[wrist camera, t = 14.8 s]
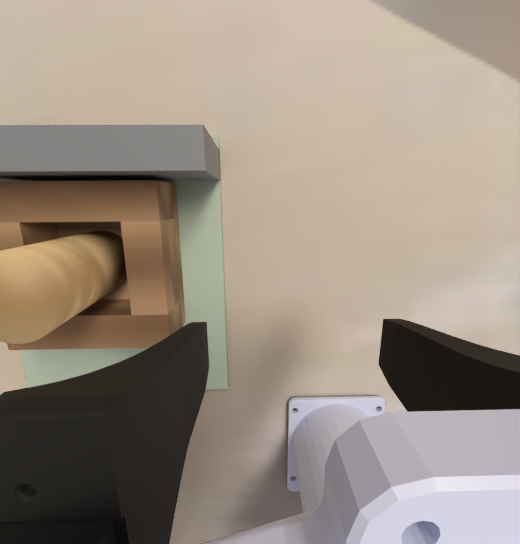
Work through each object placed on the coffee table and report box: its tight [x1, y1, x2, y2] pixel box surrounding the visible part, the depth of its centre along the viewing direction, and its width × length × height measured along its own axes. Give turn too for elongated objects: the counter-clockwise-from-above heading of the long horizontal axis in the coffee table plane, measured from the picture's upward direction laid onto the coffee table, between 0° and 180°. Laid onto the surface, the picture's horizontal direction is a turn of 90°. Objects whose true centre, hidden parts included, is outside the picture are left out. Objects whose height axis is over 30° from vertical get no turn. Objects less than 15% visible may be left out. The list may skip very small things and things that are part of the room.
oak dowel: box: [0, 230, 127, 344], centre depth 16 cm, size 4×4×8 cm
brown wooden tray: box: [0, 180, 186, 350], centre depth 19 cm, size 10×10×4 cm
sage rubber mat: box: [20, 137, 228, 390], centre depth 21 cm, size 19×16×1 cm
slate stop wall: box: [0, 125, 221, 181], centre depth 17 cm, size 2×16×6 cm, turn 90°
